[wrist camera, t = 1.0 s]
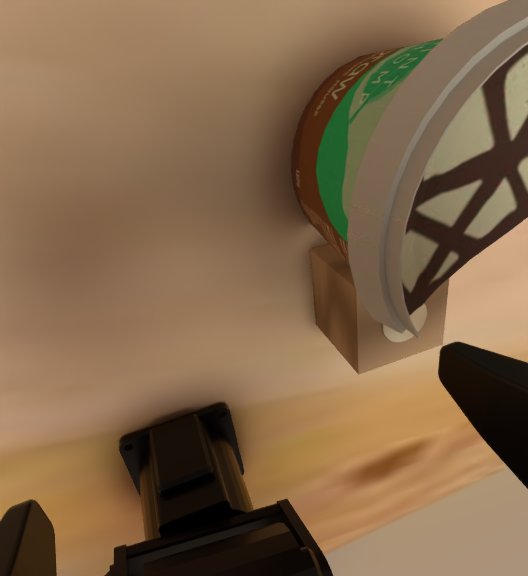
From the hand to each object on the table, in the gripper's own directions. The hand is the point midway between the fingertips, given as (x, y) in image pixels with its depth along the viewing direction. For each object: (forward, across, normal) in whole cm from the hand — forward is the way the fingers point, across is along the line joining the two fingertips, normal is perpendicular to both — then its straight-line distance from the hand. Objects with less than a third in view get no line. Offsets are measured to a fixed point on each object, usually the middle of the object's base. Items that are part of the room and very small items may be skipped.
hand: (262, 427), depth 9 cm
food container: (+13, -9, -4) cm, 17 cm away
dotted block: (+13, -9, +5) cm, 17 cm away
